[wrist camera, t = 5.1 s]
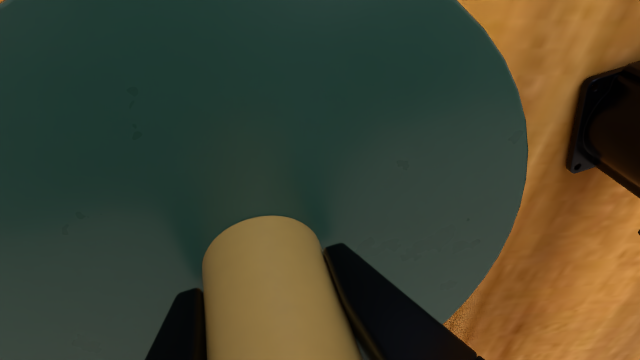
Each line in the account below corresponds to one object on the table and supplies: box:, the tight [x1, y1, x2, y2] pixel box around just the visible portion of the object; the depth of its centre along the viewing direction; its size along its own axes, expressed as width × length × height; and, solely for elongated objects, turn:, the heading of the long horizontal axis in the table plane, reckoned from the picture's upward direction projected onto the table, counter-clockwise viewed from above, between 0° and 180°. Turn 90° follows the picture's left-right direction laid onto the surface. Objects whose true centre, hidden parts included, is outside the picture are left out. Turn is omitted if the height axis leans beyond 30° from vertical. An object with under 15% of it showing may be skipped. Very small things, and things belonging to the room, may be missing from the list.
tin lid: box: [0, 0, 528, 360], centre depth 8 cm, size 12×12×5 cm
